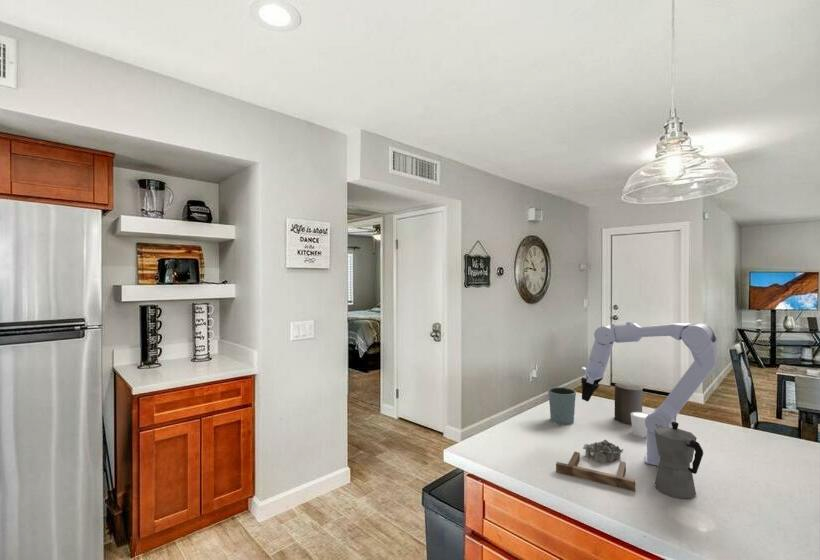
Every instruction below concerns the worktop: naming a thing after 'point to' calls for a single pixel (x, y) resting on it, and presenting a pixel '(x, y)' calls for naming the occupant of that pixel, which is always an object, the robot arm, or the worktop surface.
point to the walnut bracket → (596, 473)
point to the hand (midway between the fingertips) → (586, 396)
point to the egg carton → (602, 456)
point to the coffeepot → (676, 461)
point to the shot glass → (639, 423)
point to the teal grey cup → (562, 405)
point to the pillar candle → (627, 401)
